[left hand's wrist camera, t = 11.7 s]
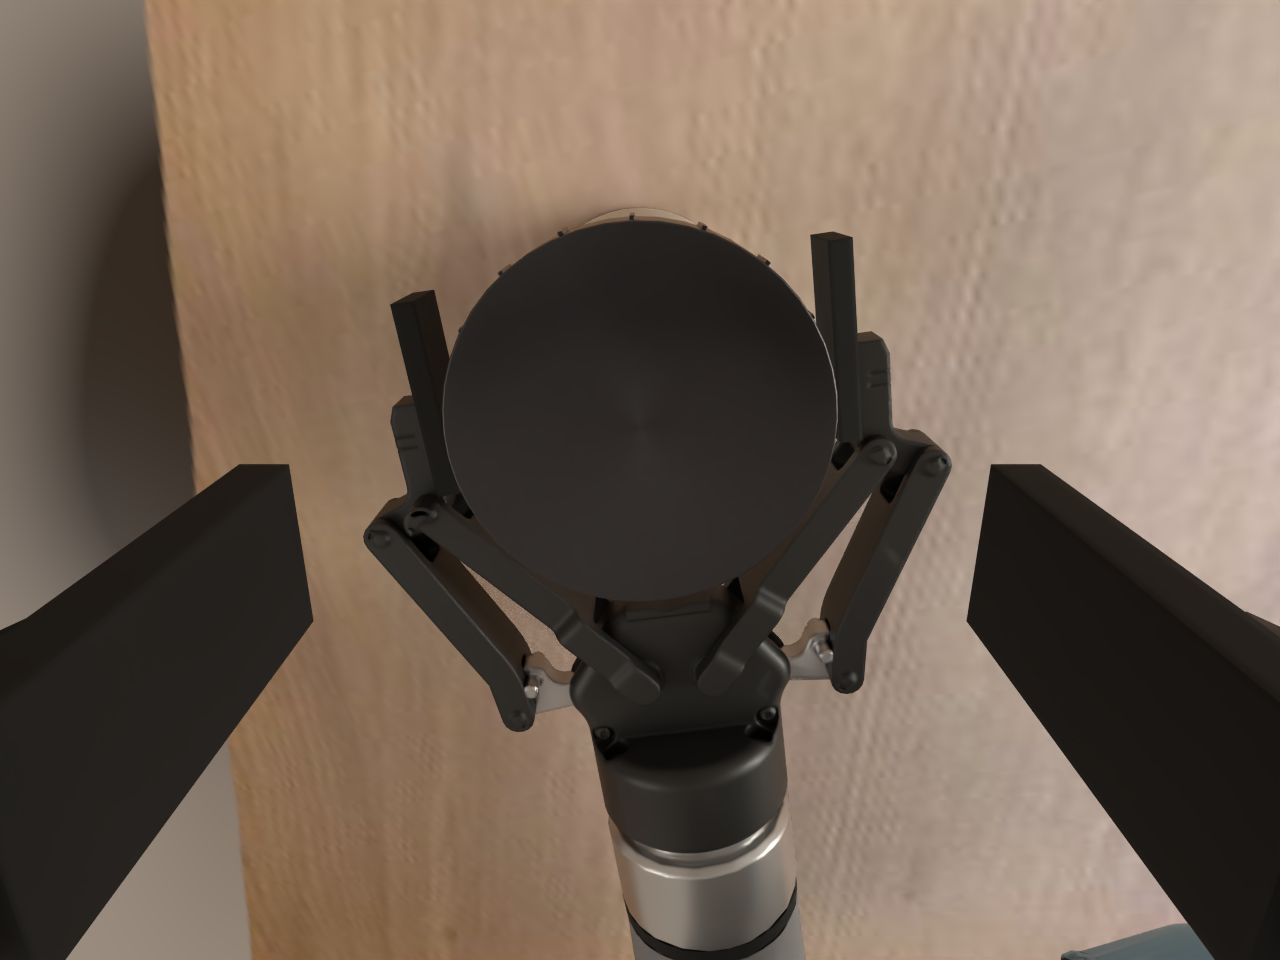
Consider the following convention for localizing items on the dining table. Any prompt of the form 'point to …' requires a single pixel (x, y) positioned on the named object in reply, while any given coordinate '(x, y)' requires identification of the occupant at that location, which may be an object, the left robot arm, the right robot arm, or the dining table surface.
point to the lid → (639, 409)
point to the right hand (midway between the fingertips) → (618, 265)
